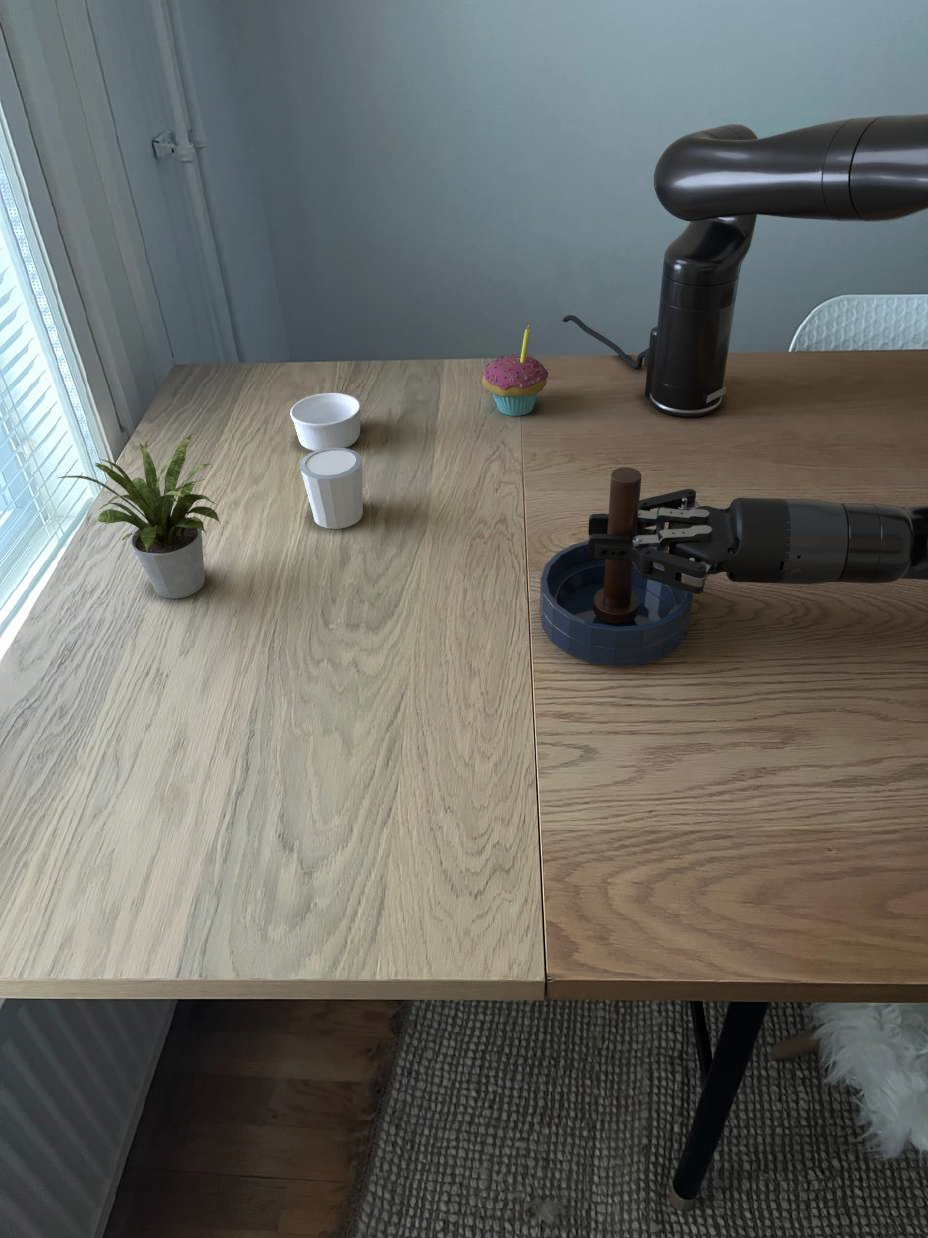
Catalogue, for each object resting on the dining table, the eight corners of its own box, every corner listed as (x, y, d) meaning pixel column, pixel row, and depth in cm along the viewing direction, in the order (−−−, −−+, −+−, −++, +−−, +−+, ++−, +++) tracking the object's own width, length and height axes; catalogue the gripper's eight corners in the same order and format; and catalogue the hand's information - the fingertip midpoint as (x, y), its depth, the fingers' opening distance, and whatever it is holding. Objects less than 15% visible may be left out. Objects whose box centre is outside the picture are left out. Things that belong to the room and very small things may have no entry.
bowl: (510, 617, 94) (510, 577, 90) (612, 560, 100) (615, 521, 97) (614, 693, 85) (618, 652, 82) (718, 626, 91) (725, 585, 88)
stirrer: (583, 608, 92) (589, 473, 82) (615, 589, 94) (625, 456, 84) (616, 630, 89) (627, 493, 79) (648, 610, 91) (662, 475, 81)
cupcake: (555, 399, 129) (558, 313, 121) (532, 428, 123) (533, 339, 115) (497, 389, 132) (496, 304, 124) (472, 417, 126) (469, 329, 118)
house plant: (107, 649, 92) (55, 507, 82) (90, 571, 102) (42, 436, 91) (251, 608, 96) (219, 468, 86) (222, 537, 106) (190, 404, 96)
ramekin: (282, 449, 121) (277, 418, 118) (316, 417, 127) (311, 387, 124) (344, 460, 118) (340, 429, 115) (375, 427, 124) (372, 397, 122)
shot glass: (377, 503, 110) (371, 450, 106) (353, 536, 105) (346, 482, 101) (324, 495, 112) (316, 442, 108) (297, 526, 107) (288, 473, 103)
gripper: (780, 464, 87) (590, 460, 89) (805, 552, 77) (589, 546, 79) (766, 531, 92) (587, 526, 94) (788, 623, 81) (585, 616, 83)
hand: (589, 535), depth 86 cm, fingers closed on stirrer, 2 cm apart
